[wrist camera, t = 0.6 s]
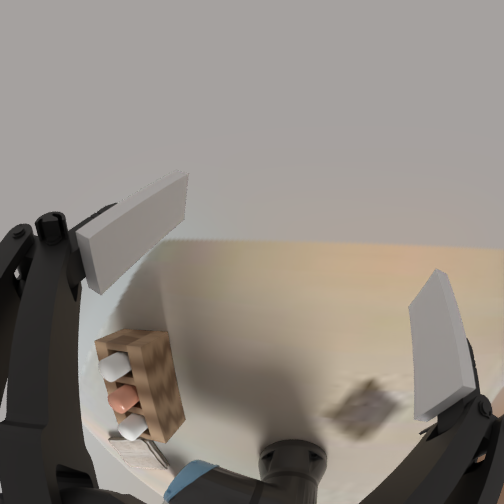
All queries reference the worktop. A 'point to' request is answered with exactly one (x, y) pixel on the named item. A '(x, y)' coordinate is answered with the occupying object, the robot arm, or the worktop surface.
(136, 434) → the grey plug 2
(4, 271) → the robot arm
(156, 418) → the walnut socket block
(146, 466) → the washcloth
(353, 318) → the worktop surface
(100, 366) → the grey plug
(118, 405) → the terracotta plug
